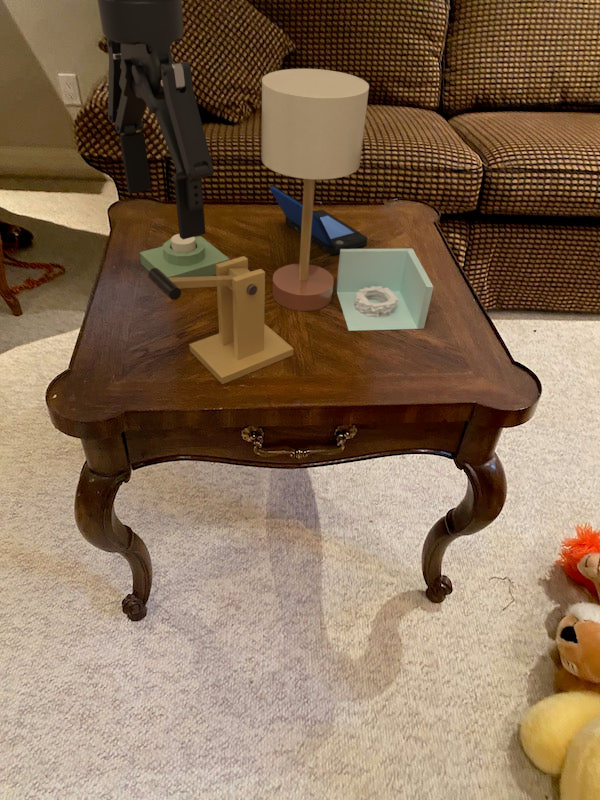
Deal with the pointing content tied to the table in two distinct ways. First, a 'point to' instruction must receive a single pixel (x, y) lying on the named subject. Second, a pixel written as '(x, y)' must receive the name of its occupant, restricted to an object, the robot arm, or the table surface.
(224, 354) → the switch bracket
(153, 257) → the switch box
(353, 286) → the right angle wall
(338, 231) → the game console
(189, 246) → the button
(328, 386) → the table surface
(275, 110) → the lamp
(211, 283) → the lamp lever
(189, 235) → the robot arm
